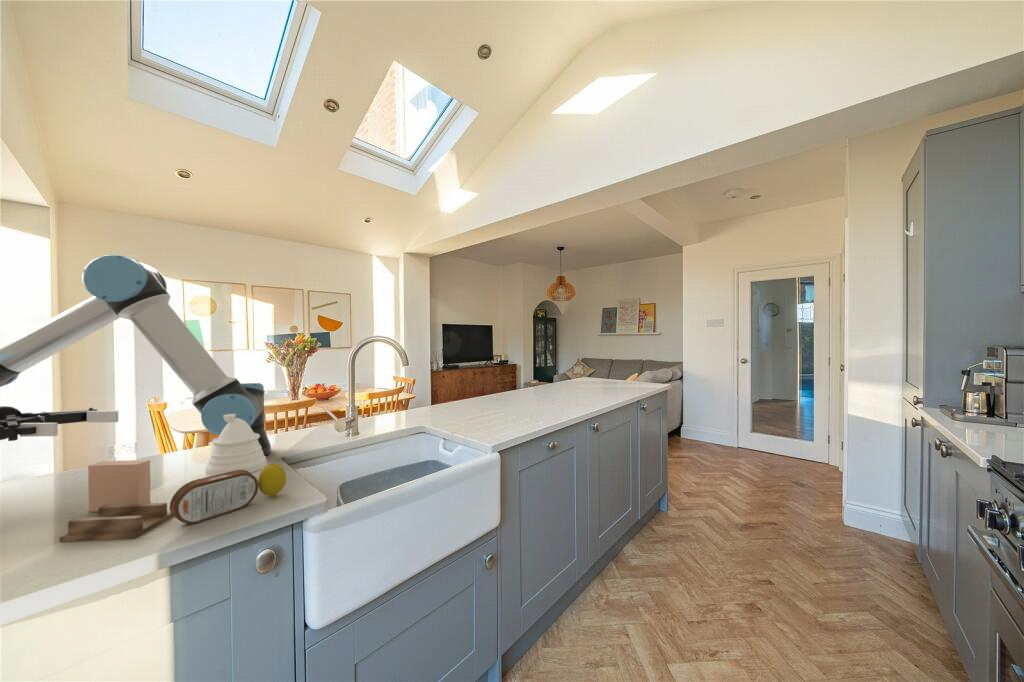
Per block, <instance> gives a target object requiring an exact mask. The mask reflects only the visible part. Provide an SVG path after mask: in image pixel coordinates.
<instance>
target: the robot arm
mask: <svg viewBox="0 0 1024 682" xmlns="http://www.w3.org/2000/svg"><path fill="white" fill-rule="evenodd" d="M81 279H82V284H83V286H84V288H85V290H87V292H88V293H89V294H91V295H92V296H91V297H90V298H88V299H86V300H84V301H82V302H80V303H79V304H76V305H75V306H72V307H71V308H69V309H67V310H65V311H64V312H63V311H62V312H61V313H59V314H58V315H56V316H54V317H52V318H50V319H48V320H46V321H44V322H42V323H40V324H39V325H36V326H34V327H33V328H32V329H29V330H28V331H25V332H24V333H21V334H20V335H17V336H16V337H14V338H13V339H11V340H8V341H7V342H5V343H3V344H1V345H0V388H1V387H3V386H7V385H9V384H12V383H13V382H15V381H16V380H17V379H18V378H19V375H20V374H21V373H22V372H25V371H27V370H29V369H30V368H32V367H33V366H36V365H37V364H39V363H41V362H42V361H44V360H46V359H48V358H50V357H52V356H54V355H55V354H57V353H59V352H61V351H62V350H65V349H66V348H68V347H69V346H71V345H73V344H75V343H77V342H79V341H81V340H82V339H85V338H86V337H88V336H89V335H91V334H94V333H95V332H96V331H99V330H100V329H102V328H104V327H106V326H108V325H109V324H112V323H113V322H115V321H116V320H118V319H126V320H129V321H131V322H132V323H133V324H134V326H135V327H136V328H137V330H139V332H140V333H141V335H142V336H143V337H144V338H145V339H146V340H147V341H148V343H150V345H151V346H152V347H153V348H154V350H155V351H156V352H157V353H158V354H159V356H160V357H161V358H162V359H163V360H164V361H165V362H166V364H167V365H168V366H169V367H170V369H171V370H172V371H173V372H174V374H175V375H176V376H177V377H178V378H179V379H180V381H182V383H183V384H184V385H185V386H186V387H187V389H188V390H189V391H190V392H191V393H192V394H193V397H192V401H191V404H192V405H193V406H194V408H195V409H196V410H197V411H198V412H199V414H200V417H201V422H202V425H203V426H204V428H205V429H206V430H207V431H208V432H210V433H212V434H213V435H217V436H219V435H220V434H221V432H222V430H223V429H224V427H225V426H226V425H227V424H228V422H226V421H225V420H224V418H223V415H227V414H236V417H235V418H239V419H242V420H244V421H245V422H246V423H247V424H248V425H249V426H250V427H251V429H252V430H253V432H254V433H257V434H259V435H260V437H259V439H257V440H258V442H259V444H260V445H261V447H262V448H261V449H262V451H263V454H264V456H265V455H267V454H268V453H270V452H272V447H271V443H270V442H271V441H270V440H269V437H268V435H267V433H266V430H265V393H266V392H265V388H264V385H263V384H262V383H261V382H251V383H250V382H249V383H248V382H247V383H244V382H243V383H241V382H240V381H239V379H237V378H236V377H230V376H227V375H226V373H225V372H224V371H223V370H222V369H221V367H220V366H219V365H218V363H217V362H216V361H215V360H214V358H213V357H212V356H211V355H210V354H209V352H208V351H207V350H206V348H204V346H203V345H202V344H201V342H200V341H199V340H198V339H197V338H196V336H195V335H194V334H193V333H192V332H191V330H190V329H189V327H188V326H187V325H186V324H185V323H184V321H183V320H182V319H181V318H180V316H179V315H178V314H177V313H176V311H175V310H174V309H173V308H172V306H171V305H170V303H169V302H170V299H171V294H170V293H169V292H168V291H167V281H166V279H165V276H164V275H163V274H162V273H161V272H160V271H159V270H157V269H156V268H154V267H153V266H151V265H148V264H145V263H142V262H139V261H138V260H137V259H135V258H133V257H130V256H127V255H119V254H108V255H106V254H105V255H102V256H99V257H96V258H95V259H92V260H91V261H90V262H88V264H87V265H86V266H85V267H84V269H83V272H82V275H81ZM83 422H84V423H85V422H86V423H118V422H119V410H98V409H95V408H94V407H89V408H88V409H82V410H66V411H42V412H34V413H33V412H22V411H20V409H17V408H15V407H14V406H9V405H8V406H7V405H3V406H0V441H4V440H6V439H7V440H8V442H12V441H18V439H19V437H22V438H23V437H25V438H26V437H56V436H58V433H59V432H58V431H59V430H58V429H59V427H58V426H59V425H63V424H74V423H83ZM18 436H19V437H18ZM270 454H271V453H270ZM268 455H269V454H268ZM268 455H267V456H268ZM265 457H266V456H265Z"/></svg>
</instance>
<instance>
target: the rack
mask: <svg viewBox="0 0 1024 682" xmlns="http://www.w3.org/2000/svg"><path fill="white" fill-rule="evenodd" d="M97 513H98V516H96V517H95V516H93V517H75V518H72V519H69V520H68V522H67V527H68V528H67V529H68V531H67V533H65V534H64V535H61V536H59V537H58V538H59V539H58V542H60V543H63V542H84V541H85V542H86V541H87V540H90V541H105V540H107V541H109V540H129V539H131V540H133V539H137V538H139V537H141V536H143V535H144V534H146V533H147V532H149V531H151V530H152V529H154V528H156V527H157V526H159V525H161V524H163V523H165V522H166V521H168V520H170V519H171V518H173V517H174V516H173V515H172V514H171V511H169V512H168V502H152V503H151V502H150V503H146V504H119V505H103V506H101V507H99V508H98V511H97ZM87 542H88V541H87Z"/></svg>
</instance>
